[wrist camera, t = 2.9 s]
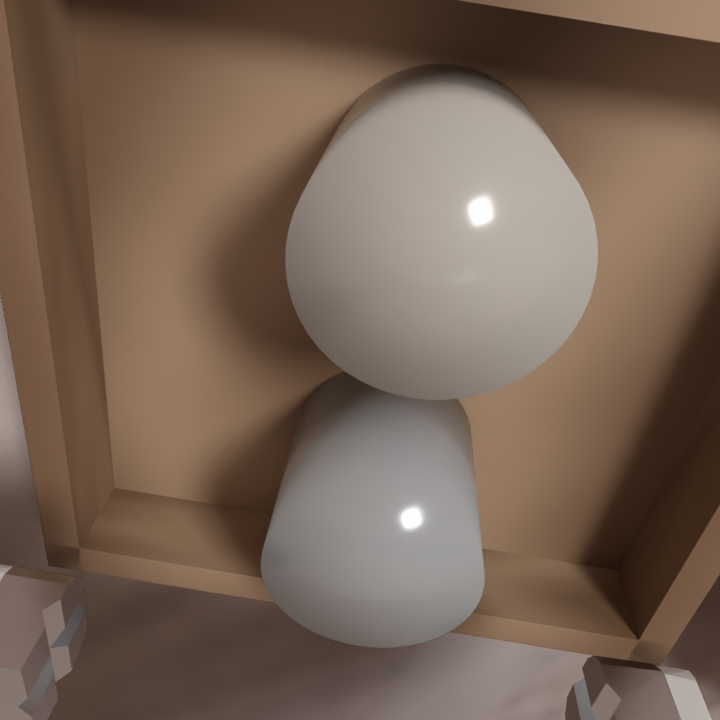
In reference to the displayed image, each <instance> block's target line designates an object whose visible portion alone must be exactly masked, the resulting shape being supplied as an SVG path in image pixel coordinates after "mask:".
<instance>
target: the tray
mask: <svg viewBox="0 0 720 720" xmlns="http://www.w3.org/2000/svg"><path fill="white" fill-rule="evenodd" d="M441 63H444V64H455V65H462V66H466V67H470V68H474V69H477V70H479V71H482V72H484V73H487V74H489V75H491V76H493V77H494V78H496V79H498V80H499V81H501V82H503V83H504V84H505V85H507V86H508V87H509V88H510V89H512V90H513V91H514V92H515V93H516V94H517V95H518V96H519V97H520V98H521V99H522V100H523V102H524V103H525V104H526V105H527V107H528V108H529V110H530V111H531V113H532V114H533V115H534V117H535V118H536V120H537V121H538V123H539V124H540V126H541V127H542V129H543V130H544V132H545V133H546V135H547V136H548V138H549V139H550V141H551V142H552V144H553V145H554V147H555V148H556V150H557V151H558V153H559V154H560V156H561V157H562V159H563V160H564V162H565V163H566V165H567V166H568V168H569V169H570V171H571V172H572V174H573V175H574V177H575V178H576V180H577V181H578V183H579V184H580V186H581V188H582V190H583V192H584V194H585V196H586V198H587V201H588V203H589V206H590V209H591V212H592V215H593V218H594V221H595V227H596V234H597V240H598V264H597V271H596V278H595V283H594V286H593V290H592V293H591V297H590V300H589V302H588V304H587V306H586V309H585V311H584V313H583V315H582V317H581V319H580V320H579V322H578V324H577V325H576V327H575V329H574V330H573V332H572V333H571V334H570V336H569V337H568V338H567V339H566V341H565V342H564V343H563V344H562V346H561V347H560V348H559V349H558V350H557V351H556V352H555V353H554V354H553V355H552V356H551V357H550V358H549V359H548V360H546V361H545V362H544V363H542V364H541V365H540V366H539V367H537V368H536V369H535V370H533V371H532V372H530V373H529V374H527V375H525V376H524V377H522V378H520V379H519V380H517V381H515V382H513V383H510V384H508V385H506V386H504V387H502V388H499V389H496V390H493V391H490V392H487V393H484V394H481V395H476V396H471V397H467V398H459V399H458V400H459V402H460V403H461V405H462V406H463V408H464V410H465V412H466V414H467V416H468V419H469V422H470V426H471V434H472V444H473V455H474V466H475V477H476V488H477V499H478V509H479V520H480V531H481V542H482V553H483V564H484V574H485V580H484V589H483V593H482V597H481V599H480V601H479V603H478V605H477V607H476V608H475V609H474V611H473V612H472V614H471V615H470V616H469V617H468V618H467V619H466V620H465V621H464V622H463V623H461V624H460V625H459V626H457V627H456V628H455V629H453V630H451V631H450V632H454V633H460V634H466V635H472V636H479V637H485V638H491V639H497V640H503V641H509V642H515V643H521V644H527V645H533V646H539V647H545V648H551V649H557V650H563V651H569V652H576V653H582V654H588V655H594V656H601V657H609V658H616V659H623V660H631V661H638V662H645V663H652V664H654V665H658V666H661V664H662V663H663V661H664V660H665V658H666V657H667V655H668V653H669V652H670V650H671V649H672V647H673V646H674V644H675V643H676V641H677V640H678V638H679V636H680V635H681V633H682V632H683V630H684V629H685V627H686V626H687V624H688V623H689V621H690V620H691V618H692V616H693V615H694V613H695V612H696V610H697V609H698V607H699V606H700V604H701V603H702V601H703V599H704V598H705V596H706V595H707V593H708V592H709V590H710V589H711V587H712V586H713V584H714V583H715V581H716V579H717V578H718V576H719V575H720V0H0V293H1V299H2V304H3V310H4V316H5V321H6V327H7V333H8V338H9V344H10V350H11V355H12V361H13V366H14V372H15V378H16V383H17V389H18V395H19V400H20V406H21V412H22V417H23V423H24V429H25V434H26V440H27V445H28V451H29V457H30V462H31V468H32V474H33V479H34V485H35V491H36V496H37V502H38V507H39V513H40V519H41V524H42V530H43V536H44V541H45V547H46V553H47V558H48V564H49V566H54V567H60V568H66V569H72V570H78V571H85V572H91V573H97V574H103V575H109V576H115V577H121V578H127V579H133V580H139V581H145V582H151V583H157V584H163V585H169V586H175V587H182V588H188V589H194V590H200V591H206V592H212V593H218V594H224V595H230V596H236V597H242V598H248V599H254V600H260V601H266V602H272V603H275V602H274V600H273V599H272V598H271V596H270V594H269V592H268V591H267V589H266V586H265V584H264V581H263V578H262V573H261V556H262V550H263V547H264V543H265V539H266V536H267V532H268V529H269V525H270V521H271V518H272V514H273V511H274V507H275V504H276V500H277V496H278V493H279V489H280V486H281V482H282V478H283V475H284V471H285V468H286V464H287V460H288V457H289V453H290V450H291V446H292V442H293V439H294V435H295V432H296V428H297V425H298V421H299V417H300V414H301V412H302V409H303V406H304V405H305V403H306V401H307V399H308V398H309V397H310V395H311V394H312V393H313V392H314V391H315V390H316V389H317V388H318V387H319V386H320V385H321V384H322V383H324V382H325V381H327V380H328V379H330V378H331V377H333V376H335V375H337V374H339V373H341V372H344V370H343V369H341V368H340V367H339V366H337V365H336V364H335V363H334V362H332V361H331V360H330V359H329V358H328V357H327V356H326V355H325V354H324V353H323V352H322V351H321V350H320V349H319V348H318V346H317V345H316V344H315V342H314V341H313V340H312V339H311V337H310V336H309V335H308V333H307V331H306V330H305V328H304V326H303V325H302V323H301V321H300V319H299V317H298V315H297V312H296V310H295V308H294V305H293V303H292V299H291V296H290V292H289V288H288V284H287V276H286V268H285V258H286V243H287V236H288V230H289V227H290V223H291V220H292V217H293V213H294V210H295V208H296V206H297V204H298V202H299V200H300V197H301V195H302V193H303V191H304V189H305V188H306V186H307V184H308V182H309V180H310V178H311V176H312V174H313V173H314V171H315V169H316V167H317V165H318V163H319V161H320V159H321V158H322V156H323V154H324V152H325V150H326V148H327V146H328V145H329V143H330V141H331V139H332V137H333V135H334V133H335V131H336V130H337V128H338V126H339V124H340V122H341V121H342V119H343V118H344V116H345V115H346V113H347V111H348V110H349V109H350V108H351V106H352V105H353V104H354V103H355V102H356V101H357V99H358V98H359V97H361V96H362V95H363V94H364V93H365V92H366V91H367V90H368V89H369V88H371V87H372V86H374V85H375V84H377V83H378V82H380V81H381V80H382V79H384V78H386V77H388V76H390V75H392V74H394V73H396V72H399V71H402V70H405V69H408V68H411V67H415V66H421V65H426V64H441Z"/></svg>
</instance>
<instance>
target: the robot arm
mask: <svg viewBox="0 0 720 720" xmlns="http://www.w3.org/2000/svg"><path fill="white" fill-rule="evenodd" d="M83 592H84V591H83V585H82V580H81V578H79V577H74V576H68V575H62V574H56V573H50V572H44V571H38V570H32V569H27V568H21V567H16V566H10V565H4V564H0V720H48V719H49V716H50V714H51V712H52V710H53V708H54V706H55V704H56V702H57V700H58V693H57V687H56V682H57V681H58V680H60V679H61V678H62V677H64V676H65V675H66V674H68V673H69V672H70V671H72V669H73V667H74V665H75V662H76V660H77V658H78V656H79V654H80V651H81V648H82V644H83V641H84V638H85V634H86V626H87V614H86V609H85V608H84V607H83V606H82V605H81V604H80V603H79V602H78V601H79V600H80V598H81V596H82V594H83ZM582 669H583V673H584V678H585V679H583V680H581V681H579V682H577V683H575V684H573V686H572V688H571V690H570V692H569V694H568V697H567V703H566V711H565V720H712V719H711V717H710V714H709V712H708V709H707V707H706V704H705V702H704V699H703V697H702V694H701V692H700V689H699V687H698V684H697V682H696V679H695V677H694V676H693V675H692V674H691V673H690V671H689V670H685V669H681V668H674V667H666V666H658V665H654V664H652V663H645V662H638V661H631V660H623V659H616V658H609V657H601V656H592V657H590V658H588V659H587V661H586V662H585V664H584V666H583V668H582Z"/></svg>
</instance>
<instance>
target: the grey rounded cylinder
mask: <svg viewBox="0 0 720 720" xmlns="http://www.w3.org/2000/svg"><path fill="white" fill-rule="evenodd" d="M261 573H262V578H263V581H264V584H265V586H266V589H267V591H268V592H269V594H270V596H271V598H272V599H273V600H274V602H275V603H276V604H277V605H278V607H279V608H280V609H281V610H282V611H283V612H284V613H285V614H286V615H288V616H289V617H290V618H291V619H293V620H294V621H295V622H297V623H298V624H300V625H302V626H303V627H305V628H306V629H308V630H310V631H312V632H314V633H316V634H318V635H321V636H323V637H326V638H329V639H331V640H335V641H338V642H342V643H346V644H351V645H355V646H363V647H373V648H393V647H403V646H410V645H415V644H420V643H423V642H427V641H430V640H433V639H435V638H438V637H440V636H442V635H444V634H446V633H448V632H450V631H451V630H453V629H455V628H456V627H457V626H459V625H460V624H461V623H463V622H464V621H465V620H466V619H467V618H468V617H469V616H470V615H471V614H472V612H473V611H474V609H475V608H476V607H477V605H478V603H479V601H480V599H481V597H482V593H483V589H484V580H485V574H484V564H483V553H482V542H481V531H480V520H479V509H478V499H477V488H476V477H475V466H474V455H473V444H472V434H471V426H470V422H469V419H468V416H467V414H466V412H465V410H464V408H463V406H462V405H461V403H460V402H459V400H458V399H450V400H426V399H416V398H409V397H404V396H400V395H395V394H392V393H389V392H386V391H383V390H380V389H377V388H374V387H372V386H370V385H368V384H366V383H364V382H362V381H360V380H358V379H356V378H355V377H353V376H352V375H350V374H348V373H347V372H345V371H344V372H341V373H339V374H337V375H335V376H333V377H331V378H330V379H328V380H327V381H325V382H324V383H322V384H321V385H320V386H319V387H318V388H317V389H316V390H315V391H314V392H313V393H312V394H311V395H310V397H309V398H308V399H307V401H306V403H305V405H304V406H303V409H302V412H301V414H300V417H299V421H298V425H297V428H296V432H295V435H294V439H293V442H292V446H291V450H290V453H289V457H288V460H287V464H286V468H285V471H284V475H283V478H282V482H281V486H280V489H279V493H278V496H277V500H276V504H275V507H274V511H273V514H272V518H271V521H270V525H269V529H268V532H267V536H266V539H265V543H264V547H263V550H262V556H261Z"/></svg>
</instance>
